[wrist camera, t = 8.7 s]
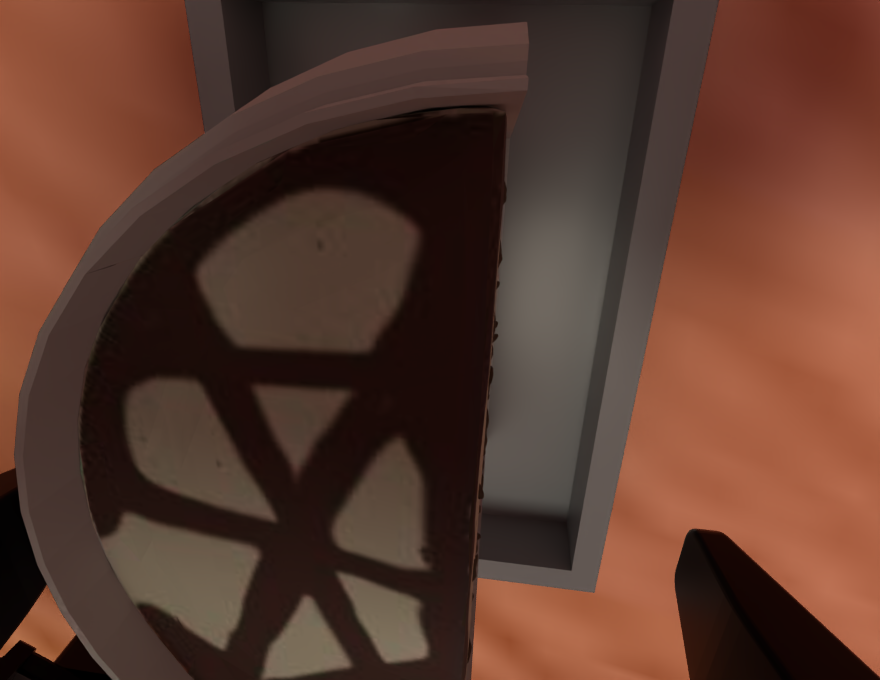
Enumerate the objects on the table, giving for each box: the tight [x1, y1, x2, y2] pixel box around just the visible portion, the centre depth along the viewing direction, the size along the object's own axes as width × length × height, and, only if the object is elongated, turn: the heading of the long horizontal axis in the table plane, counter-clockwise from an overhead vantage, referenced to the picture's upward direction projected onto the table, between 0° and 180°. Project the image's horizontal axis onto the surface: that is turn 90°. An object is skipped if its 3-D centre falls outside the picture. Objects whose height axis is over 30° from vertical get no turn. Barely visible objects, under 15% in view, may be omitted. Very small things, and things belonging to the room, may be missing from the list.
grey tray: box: [185, 0, 719, 593], centre depth 15 cm, size 17×11×2 cm, turn 179°
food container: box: [14, 22, 529, 680], centre depth 11 cm, size 12×6×10 cm, turn 178°
